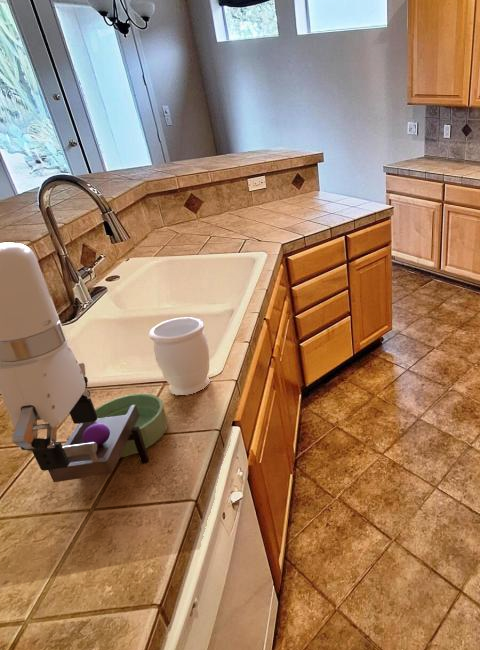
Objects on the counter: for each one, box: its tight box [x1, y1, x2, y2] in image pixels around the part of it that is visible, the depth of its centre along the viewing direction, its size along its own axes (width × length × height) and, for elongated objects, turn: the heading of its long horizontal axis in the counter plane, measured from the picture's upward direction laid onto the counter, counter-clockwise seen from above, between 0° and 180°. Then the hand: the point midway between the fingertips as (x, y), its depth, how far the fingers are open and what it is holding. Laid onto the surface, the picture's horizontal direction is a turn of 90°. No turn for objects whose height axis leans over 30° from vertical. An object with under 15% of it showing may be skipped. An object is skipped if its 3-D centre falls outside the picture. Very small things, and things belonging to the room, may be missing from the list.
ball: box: [83, 423, 110, 446], centre depth 70 cm, size 4×4×4 cm
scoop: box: [47, 405, 139, 483], centre depth 70 cm, size 8×14×6 cm, turn 13°
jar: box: [148, 316, 211, 396], centre depth 94 cm, size 11×10×15 cm
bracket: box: [66, 426, 150, 465], centre depth 74 cm, size 11×1×8 cm, turn 103°
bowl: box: [94, 392, 169, 459], centre depth 81 cm, size 13×13×5 cm
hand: (72, 442), depth 62 cm, fingers open, 9 cm apart
